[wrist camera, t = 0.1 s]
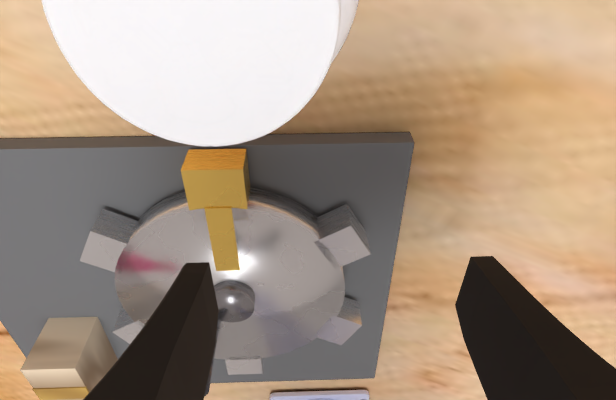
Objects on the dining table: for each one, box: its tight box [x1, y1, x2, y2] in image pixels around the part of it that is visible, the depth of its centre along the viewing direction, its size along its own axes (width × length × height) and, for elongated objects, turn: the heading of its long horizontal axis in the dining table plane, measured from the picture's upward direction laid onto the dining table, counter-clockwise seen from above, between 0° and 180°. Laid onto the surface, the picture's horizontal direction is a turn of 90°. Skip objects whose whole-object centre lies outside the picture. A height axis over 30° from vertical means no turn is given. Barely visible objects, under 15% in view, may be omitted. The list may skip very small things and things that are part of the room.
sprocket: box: [80, 149, 370, 396], centre depth 22 cm, size 16×14×5 cm
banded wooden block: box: [20, 317, 118, 400], centre depth 27 cm, size 5×3×4 cm, turn 0°
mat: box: [0, 132, 414, 383], centre depth 26 cm, size 20×24×1 cm
